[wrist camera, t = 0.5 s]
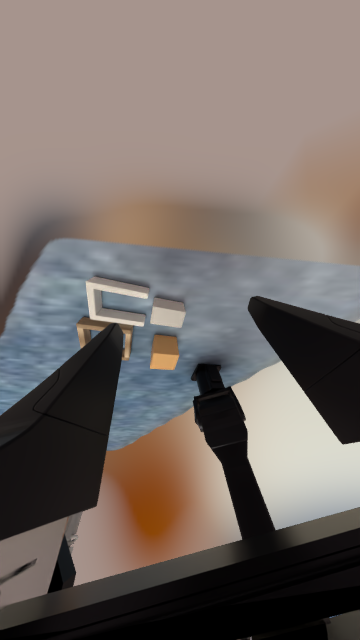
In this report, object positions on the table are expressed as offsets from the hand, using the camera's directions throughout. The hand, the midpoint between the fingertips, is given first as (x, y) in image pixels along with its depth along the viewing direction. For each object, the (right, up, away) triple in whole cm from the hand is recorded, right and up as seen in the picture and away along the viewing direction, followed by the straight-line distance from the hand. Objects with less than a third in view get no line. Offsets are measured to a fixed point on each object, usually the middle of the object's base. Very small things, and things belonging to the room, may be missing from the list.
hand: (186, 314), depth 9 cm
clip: (-9, +3, +12) cm, 16 cm away
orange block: (-4, -5, +18) cm, 19 cm away
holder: (-14, -4, +16) cm, 21 cm away
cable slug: (-3, +2, +14) cm, 14 cm away
